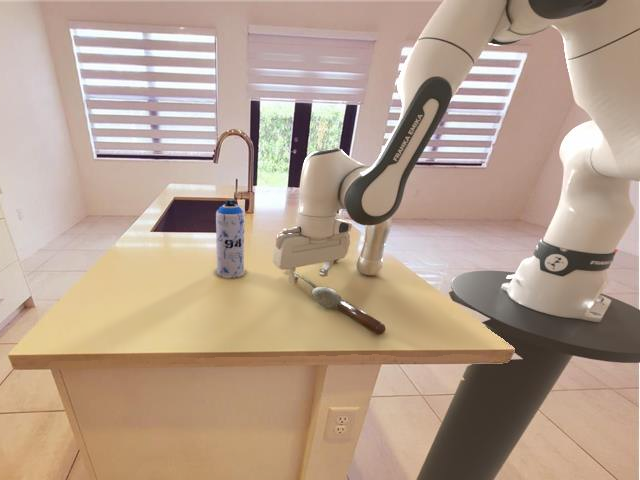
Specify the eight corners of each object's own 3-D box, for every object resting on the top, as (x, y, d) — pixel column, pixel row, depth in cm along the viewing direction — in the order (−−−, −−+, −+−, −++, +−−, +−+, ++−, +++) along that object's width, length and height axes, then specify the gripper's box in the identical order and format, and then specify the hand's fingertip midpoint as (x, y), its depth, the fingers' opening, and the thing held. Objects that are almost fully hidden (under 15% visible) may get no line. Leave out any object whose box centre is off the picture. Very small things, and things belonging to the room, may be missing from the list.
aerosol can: (219, 279, 84) (218, 203, 75) (214, 268, 91) (211, 197, 82) (247, 276, 86) (249, 201, 77) (240, 265, 93) (240, 196, 83)
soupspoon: (321, 313, 70) (345, 309, 72) (324, 300, 69) (349, 297, 71) (278, 272, 88) (298, 270, 90) (279, 261, 86) (300, 260, 89)
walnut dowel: (343, 306, 72) (344, 297, 71) (386, 335, 62) (389, 324, 61) (334, 309, 71) (336, 299, 70) (378, 338, 61) (380, 327, 60)
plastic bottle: (367, 267, 93) (382, 198, 83) (385, 276, 87) (403, 202, 78) (350, 271, 90) (364, 199, 81) (368, 280, 85) (384, 204, 76)
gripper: (285, 234, 66) (280, 292, 73) (357, 223, 74) (347, 276, 81) (269, 226, 71) (266, 281, 78) (339, 217, 79) (331, 268, 86)
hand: (308, 279), depth 79 cm, fingers open, 8 cm apart
